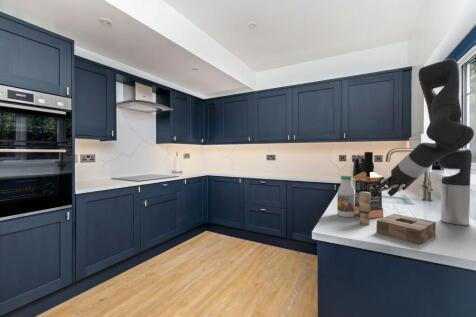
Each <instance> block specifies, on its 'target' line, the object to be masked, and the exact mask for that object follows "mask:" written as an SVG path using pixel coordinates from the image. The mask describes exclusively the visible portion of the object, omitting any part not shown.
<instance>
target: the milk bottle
mask: <svg viewBox="0 0 476 317" xmlns="http://www.w3.org/2000/svg"><path fill="white" fill-rule="evenodd" d="M340 180H341V182H340V185H339V187H338V190H337V199H336V200H337V204H336V206H337V210H336V211H337V213H336V214H337V215H338V216H339V217H341V218H354V217H355V214H354V206H355V189H354V188H353V186H352V176H351V175H341V176H340Z"/></svg>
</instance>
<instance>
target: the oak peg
mask: <svg viewBox="0 0 476 317" xmlns="http://www.w3.org/2000/svg"><path fill="white" fill-rule="evenodd" d="M370 206H371V193H370V192H359V210H360V216H359V225H363V226H369V225H370V218H369V213H370Z"/></svg>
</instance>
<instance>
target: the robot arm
mask: <svg viewBox="0 0 476 317" xmlns="http://www.w3.org/2000/svg"><path fill="white" fill-rule="evenodd" d="M418 81H419V84H420V88H421V91H422V95H423V97H424V101H425V103H426V107H427V112H428V119H429V124H428V126H427V129H426V131H425V132H426V136H427V138H428V139H429V140H431V141H433V142H421V143H419V144H418V145H417V146H416V147H415V148H414V149H412V150H411V152H410V153H408V154H407V155H406V156H404V157H403V158H402V159H401V160H400V161H399V162H398V163H397V164H396V165H395V166H394V167H393V168H392V169H391V170H390V174H391V175H390V176H389V177H386V178H385V177H384V176H382V178H380V179H379V180H378V181H377V182H376V183H375V184H374V185H373V186H372V187H373V188H374V190H373V191H372V192H371V195H372V197H376V196H377V195H378V194H380V193H381V192H382V193H383V192H384V191H387V195H389V197H394V196H395V195H396V194H397V193H398V192H401V191H405V190H406V189H408V188H409V186H411V185H412V184H414V182H415V181H416V180H417V179H419V178H420V177H421V176H422V175H423V174H425V172H427V170H429V169H430V167H432V166H433V165H434V164H435V163H438V166H439V167H440V168H441V169H446V170H447V169H448V170H459V171H458V172H457V173H455V174H452V175H447V176H443V177H442V178H441V187H440V188H441V195H440V198H441V199H440V201H441V202H440V220H441V222H444V223H447V224H451V225H457V226H458V225H459V226H469V225H470V208H471V207H470V206H471V204H470V203H471V202H470V201H471V197H470V196H471V174H472V173H471V171H472V164H473V163H472V161H473V155H472V151H471V149H469V148H465V147H466V146H468V145H469V144H470V142H471V141H472V140H473V138H474V136H475V131H474V129H473V128H472V127H470V126H469V125H466V124H464V123H462V120H461V119H462V115H463V114H462V112H463V111H462V107H461V104H460V103H461V102H460V95H459V94H460V68H459V64H458V62H457V60H456V59H454V58H447V59H442V60H440V61H438V62H434V63H432V64H427V65H425V66H423V67H420V68H419V69H418ZM441 87H442V88H441ZM437 88H441V90H439V92H438V93H436V91H435V90H434V89H437ZM381 188H382V189H381Z"/></svg>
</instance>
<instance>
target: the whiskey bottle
mask: <svg viewBox="0 0 476 317" xmlns="http://www.w3.org/2000/svg"><path fill="white" fill-rule="evenodd" d="M363 155H364V162H363V165H362V168H363V171H362V172H360V173H358V174H356V175H354V180H355V189H354V197H355V205H354V215H357V216H359V217H360V210H359V192H370V193H371V192H372V191H373V190H374V188H373V187H372V186H373V185H374V184H375V183H376V182H377V181H378V180H379V179H380V178H382V177H383V176H381V175H380V174H377V173H376V172H375V171H374V169H375V165H374V161H373V160H374V152H373V151H365V152H364V154H363ZM381 189H382V188H381ZM382 197H383V191H382V192H381V193H380V194H378V195H377V196H376V197H372V195H371V206H370V213H369V219H375V218H376V219H377V218H384V208H383V198H382Z"/></svg>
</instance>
